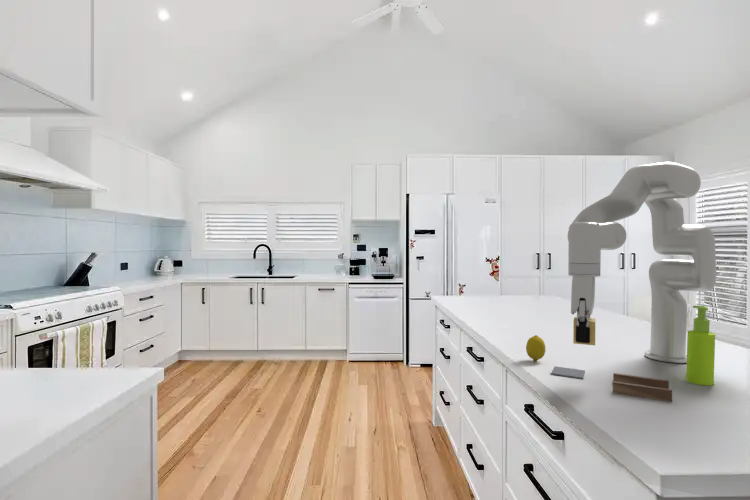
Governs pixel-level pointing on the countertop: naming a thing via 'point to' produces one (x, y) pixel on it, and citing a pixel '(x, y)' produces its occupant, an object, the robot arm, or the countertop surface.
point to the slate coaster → (568, 372)
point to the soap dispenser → (700, 351)
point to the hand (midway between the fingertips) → (583, 339)
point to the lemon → (535, 348)
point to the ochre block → (592, 331)
